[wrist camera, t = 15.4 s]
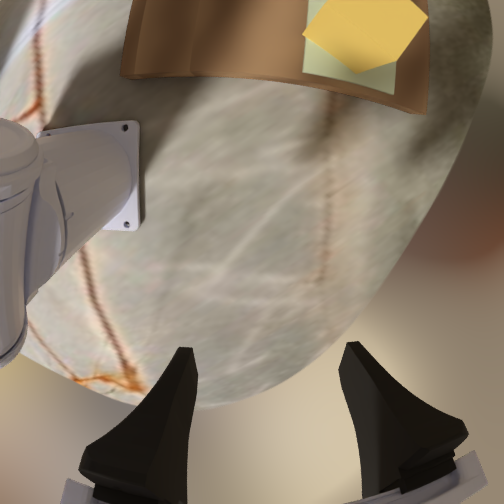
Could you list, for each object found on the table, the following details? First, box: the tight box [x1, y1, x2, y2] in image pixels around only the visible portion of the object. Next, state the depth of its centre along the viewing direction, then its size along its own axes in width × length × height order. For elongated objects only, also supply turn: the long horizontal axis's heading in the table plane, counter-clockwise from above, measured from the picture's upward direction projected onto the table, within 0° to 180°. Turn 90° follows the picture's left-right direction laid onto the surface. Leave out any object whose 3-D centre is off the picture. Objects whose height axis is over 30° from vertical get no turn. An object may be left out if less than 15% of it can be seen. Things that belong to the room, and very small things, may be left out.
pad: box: [302, 0, 396, 95], centre depth 12 cm, size 6×6×1 cm
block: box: [302, 0, 428, 74], centre depth 10 cm, size 4×4×5 cm
